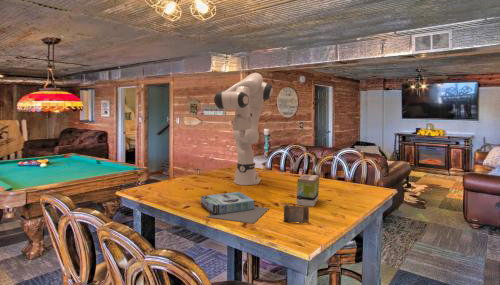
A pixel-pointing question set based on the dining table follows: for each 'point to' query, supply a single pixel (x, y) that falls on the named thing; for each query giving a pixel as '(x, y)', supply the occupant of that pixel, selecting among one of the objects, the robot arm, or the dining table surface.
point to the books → (296, 213)
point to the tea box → (307, 190)
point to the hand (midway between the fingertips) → (242, 137)
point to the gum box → (227, 202)
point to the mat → (242, 215)
